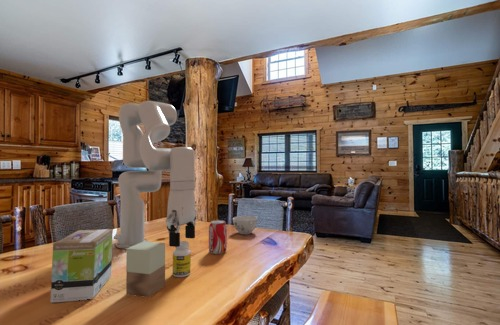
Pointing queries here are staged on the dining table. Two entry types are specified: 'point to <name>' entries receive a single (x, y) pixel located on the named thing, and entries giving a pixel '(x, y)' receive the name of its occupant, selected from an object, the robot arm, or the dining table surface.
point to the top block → (145, 257)
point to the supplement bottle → (182, 260)
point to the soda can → (217, 237)
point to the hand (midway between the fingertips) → (182, 241)
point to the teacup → (245, 224)
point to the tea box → (81, 265)
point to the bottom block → (145, 282)
